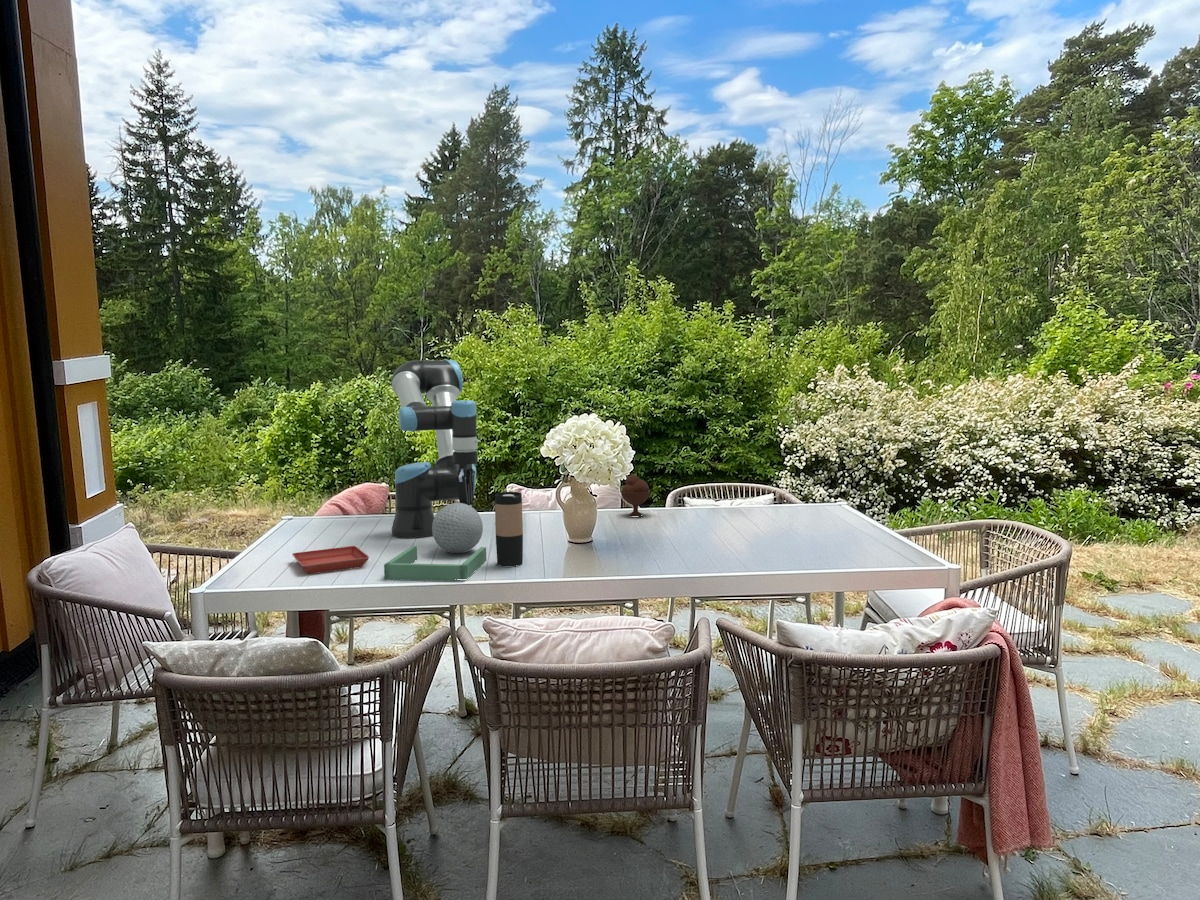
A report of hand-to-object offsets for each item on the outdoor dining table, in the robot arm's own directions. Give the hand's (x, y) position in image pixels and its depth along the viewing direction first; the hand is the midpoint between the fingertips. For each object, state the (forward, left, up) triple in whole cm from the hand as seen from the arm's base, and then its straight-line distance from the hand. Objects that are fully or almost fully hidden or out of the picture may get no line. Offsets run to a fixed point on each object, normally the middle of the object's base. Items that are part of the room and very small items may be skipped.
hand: (467, 526), depth 253 cm
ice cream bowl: (+29, +64, -6) cm, 70 cm away
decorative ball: (+3, -9, -6) cm, 12 cm away
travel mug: (+25, -14, -6) cm, 29 cm away
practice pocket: (+10, -27, -6) cm, 30 cm away
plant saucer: (-21, -36, -7) cm, 43 cm away
